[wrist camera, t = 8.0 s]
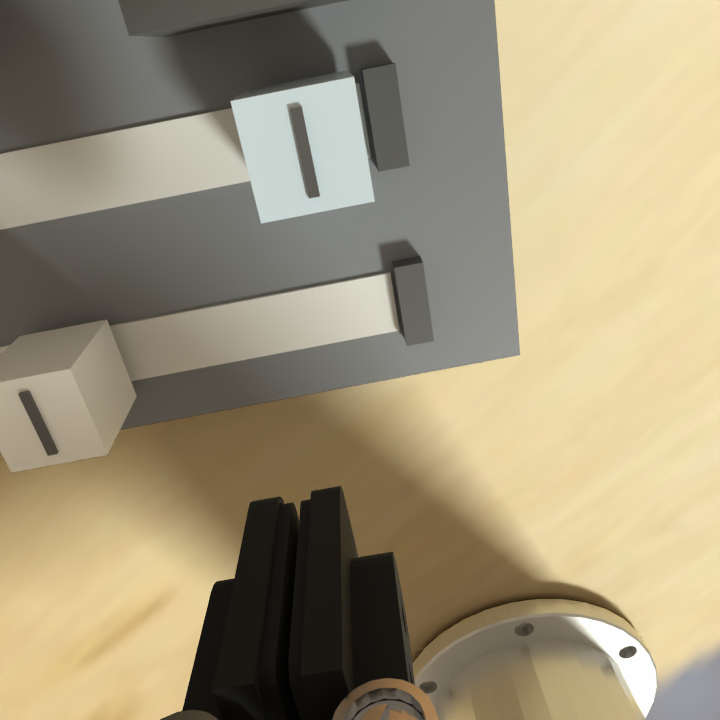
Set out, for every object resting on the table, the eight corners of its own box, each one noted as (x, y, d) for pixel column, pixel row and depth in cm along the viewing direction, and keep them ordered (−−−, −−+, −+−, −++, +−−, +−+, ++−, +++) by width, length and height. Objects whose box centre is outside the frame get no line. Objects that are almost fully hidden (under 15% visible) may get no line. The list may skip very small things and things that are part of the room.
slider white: (136, 396, 19) (106, 457, 16) (54, 411, 19) (9, 475, 16) (107, 319, 18) (68, 370, 15) (19, 336, 18) (-35, 390, 15)
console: (488, 306, 23) (559, 414, 17) (-49, 407, 24) (-192, 553, 17) (433, -281, 16) (518, -511, 9) (-336, -119, 16) (-781, -228, 10)
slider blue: (365, 175, 17) (375, 202, 14) (269, 193, 17) (260, 224, 14) (347, 70, 15) (354, 77, 13) (245, 90, 15) (229, 101, 13)
